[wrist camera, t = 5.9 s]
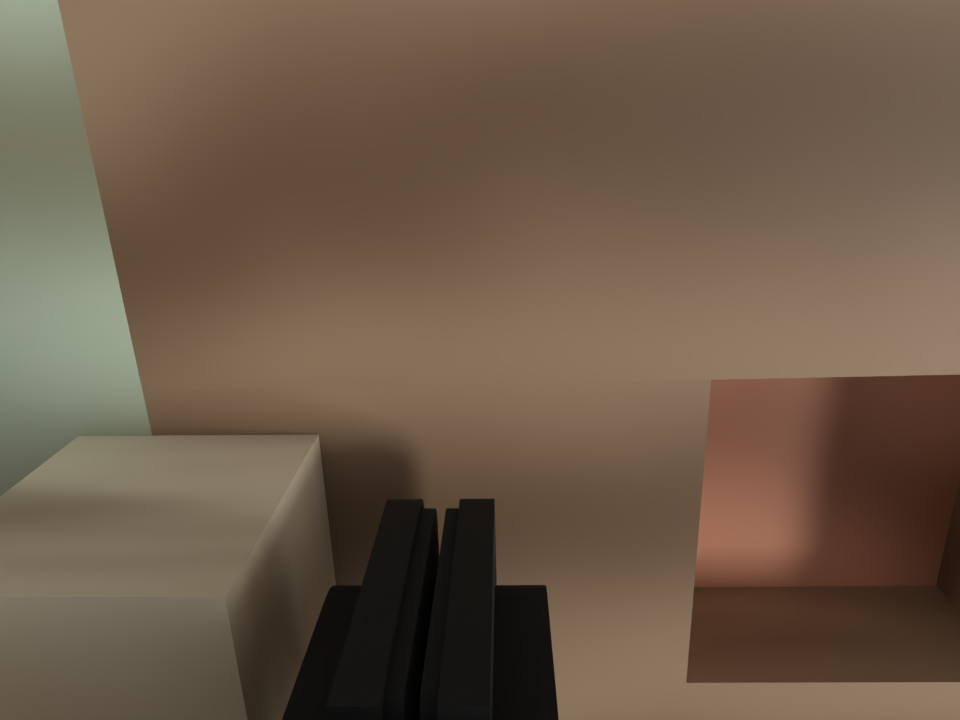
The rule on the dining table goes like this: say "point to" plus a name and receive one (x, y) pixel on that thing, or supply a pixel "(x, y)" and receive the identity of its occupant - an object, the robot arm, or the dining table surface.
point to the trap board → (533, 304)
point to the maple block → (162, 578)
